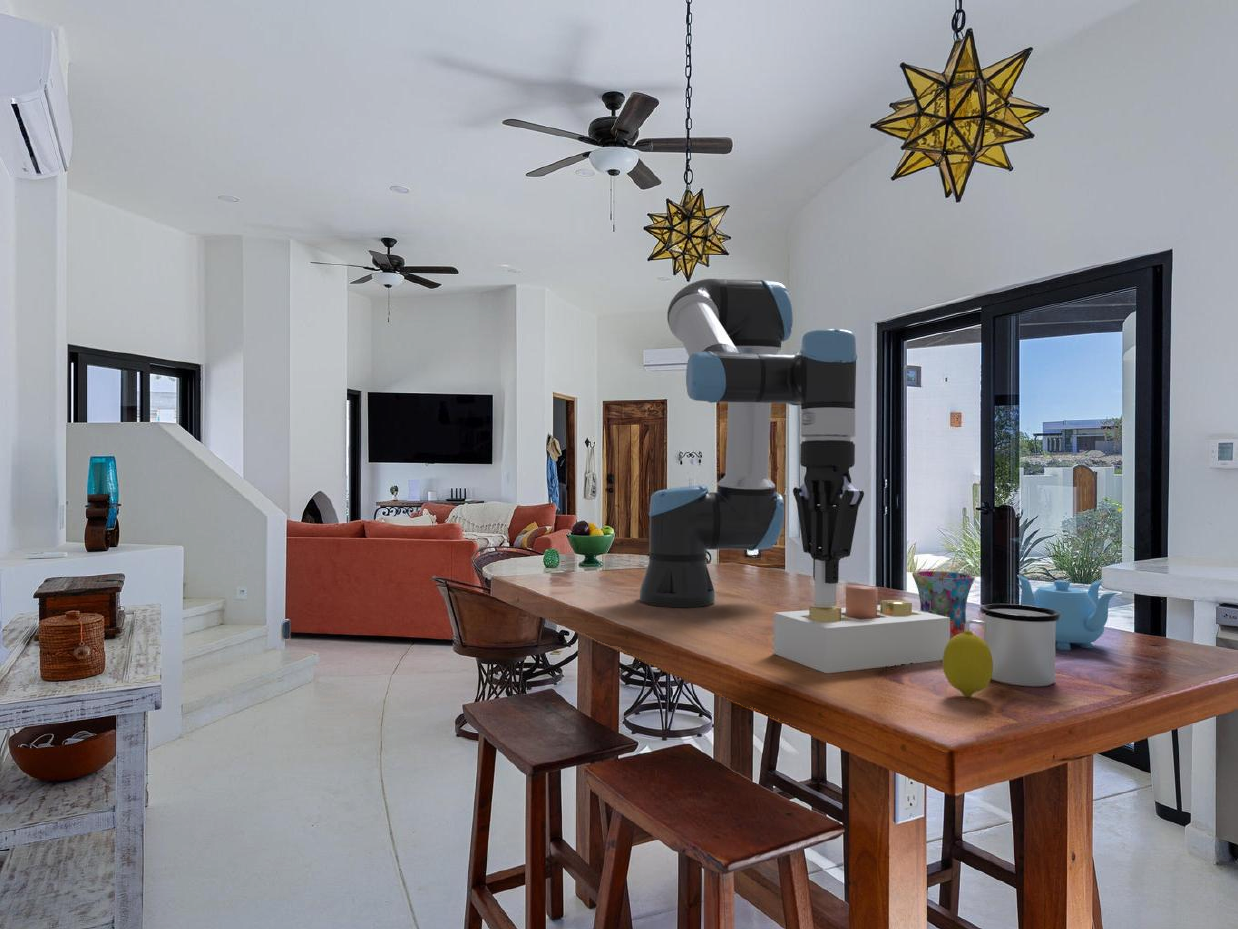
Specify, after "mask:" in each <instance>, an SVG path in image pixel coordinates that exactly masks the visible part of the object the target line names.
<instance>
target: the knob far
mask: <svg viewBox="0 0 1238 929" xmlns="http://www.w3.org/2000/svg"><path fill="white" fill-rule="evenodd" d="M912 604H913V603H912V602H911V601H907V600H906V601H905V600H900V599H883V600H880V602H879V605H880V613H882V614H886V615H890V616H894V617H897V616H909V615H912V609H913V605H912Z"/></svg>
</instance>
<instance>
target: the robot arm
mask: <svg viewBox="0 0 1238 929" xmlns="http://www.w3.org/2000/svg"><path fill="white" fill-rule="evenodd" d="M793 315H794V314H793V306H792V300H791V296H790V294H789V292H788V290H787V287H786V286H785V285H784V284H782V283H781V282H779V281H771V280H764V279H719V278H703V279H700V280H697V281H694V282H692V283H689V284H688V285H686V286H684V287H683V288H681V289H680V290H679V291H678V292H677V293H675V295H674V296H673V298H672V299H671V301H670V303H669V306H668V309H667V315H666V317H667V324H668V327H669V330H670V331H671V333H672V335H673V336H674V337H675V338H676V339H677V340H679V341H680V342H682V344H683V346H684V349H685V351H686V353H687V355H688V357H689V358H688V359H687V364H686V369H685V370H686V371H685V372H686V373H685V386H686V394H687V396H688V397H689V398H690V399H691V400H693V401H697V402H708V403H711V404H712V403H727V421H726V422H727V423H726V424H727V425H726V426H727V427H726V446H725V447H726V450H725V452H726V453H725V455H726V457H725V475H724V476H723V477H722V478H721V479H720V480H719V481H718V482H717V492H710V491H709V488H708V486H706V485H693V486H691V485H689V486H682V487H681V486H679V487H674V488H673V487H671V488H667V489H660V490H659V489H658V490H657V491H654V492H653V493H652V495H651V496H650V501H649V502H650V503H649V512H648V517H649V544H648V545H649V548H648V553H649V554H648V564H647V566H646V571H645V574H644V577H643V580H642V582H641V586H640V590H639V601H640V602H641V603H644V604H648V605H652V606H656V607H657V606H658V607H668V608H671V607H672V608H697V607H705V606H710V605H713V604H715V601H716V600H715V599H716V597H715V596H716V595H715V587H714V585H713V582H712V578H711V574H710V572H709V568H708V565H707V550H714V551H715V550H716V551H717V550H719V551H720V550H739V551H741V550H742V551H747V550H748V551H751V552H752V551H755V550H769V549H771V548H773V547H774V546H775V545H776V543H777V542H778V541H779V538H780V537H781V533H782V530H783V526H784V519H785V508H784V505H785V502H784V497H783V496H782V495H781V494H780V493H778V492H777V491H776V484H775V483H774V482H773V481H772V480H771V479H770V477H769V462H770V441H771V440H770V439H771V438H770V436H771V435H770V434H771V419H772V418H771V414H772V404H788V405H791V406H800V410H801V412H800V414H801V415H800V416H801V417H800V418H801V419H800V436H801V437H802V438H804V439H805V441H801V443H799V444H800V445H799V446H800V449H799V450H800V451H799V453H800V454H799V465H800V466H801V467H804V468H805V471H806V472H805V474H804V477H803V483H802V484H801V485H800V486H794V487H793V489H792V494H793V497H794V499H795V502H796V506H797V513H798V522H799V529H800V535H801V536H800V537H801V545H802V551H803V552H804V553H808V554H809V555H810V556H811V557H810V558H812V561H813V572H812V573H813V574H812V577H813V581H814V593H813V594H814V595H813V596H814V600H813V602H814V605H815V606H819V607H828V606H837V594H838V593H837V586H838V585H837V584H838V583H839V580H840V578H839V573H840V570H839V568H840V561H841V560H842V559H843V558H848V557H850V556H851V552H852V546H853V540H854V534H855V530H856V529H855V528H856V524H857V518H858V515H859V514H858V512H859V507H860V505H861V502H862V500H863V498H864V497H865V496H864V495H865V493H864V490H863V489H856V488H855V486H854V485H852V477H851V474H850V468H852V467H854V466H855V462H856V460H855V459H856V444H855V443H854V441H853V440H852V438H854V437H855V436H856V390H857V388H856V387H857V386H856V385H857V384H856V382H857V359H858V355H857V341H856V336H855V334H854V333H853V332H852V331H849V330H848V329H840V328H838V329H837V328H826V329H825V328H824V329H815V330H814V329H813V330H810V331H807V332H806V333H804V335H803V336H802V339H801V347H800V350H799V351H800V354H786V353H785V354H783V353H782V354H781V353H780V354H779V352H780V351H781V350H782V342H783V343H784V342H785V341H787V340H788V339H790V337H791V335H792V327H793V324H794V323H793V321H794V320H793V317H794V316H793ZM851 440H852V441H851Z"/></svg>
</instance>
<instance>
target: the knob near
mask: <svg viewBox="0 0 1238 929" xmlns="http://www.w3.org/2000/svg"><path fill="white" fill-rule="evenodd" d="M841 608H842V607H840V606H838V605H836V606H828V607H819V606H815V605H809V609H808V610H809V619H811V620H815V621H818V622H822V623H824V622H836V621H841Z"/></svg>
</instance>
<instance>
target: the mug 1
mask: <svg viewBox="0 0 1238 929" xmlns="http://www.w3.org/2000/svg"><path fill="white" fill-rule="evenodd" d="M911 574H912V578H913V581H914V582H915V585H916V588H917V591H918V597H919V603H920V604H919V606H920V610H919V611H923V612H927V613H932V614H936V615H940V616H945V617H949V618H950V639H951V638H953V637H954V636H956V635H958V634H961V633H963V632H964V631H965V623H966V622H967V616H966V614H967V613H966V612H967V611H966V610H967V603H968V597H969V594H970V591H971V588H972V587H973V584H974V582H975V580H976V577H975V575H972V574H968V573H964V572H963V573H961V572H954V571H953V572H952V571H939V570H936V571H935V570H922V571H915V572H914V571H913V572H912V573H911Z"/></svg>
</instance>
